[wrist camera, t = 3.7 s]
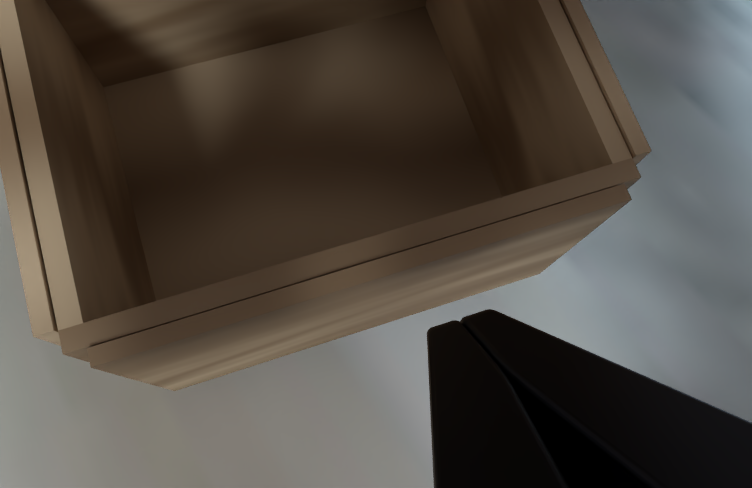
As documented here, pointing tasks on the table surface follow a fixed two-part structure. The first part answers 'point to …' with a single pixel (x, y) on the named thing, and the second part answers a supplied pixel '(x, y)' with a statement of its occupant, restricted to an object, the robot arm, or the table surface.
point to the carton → (293, 167)
